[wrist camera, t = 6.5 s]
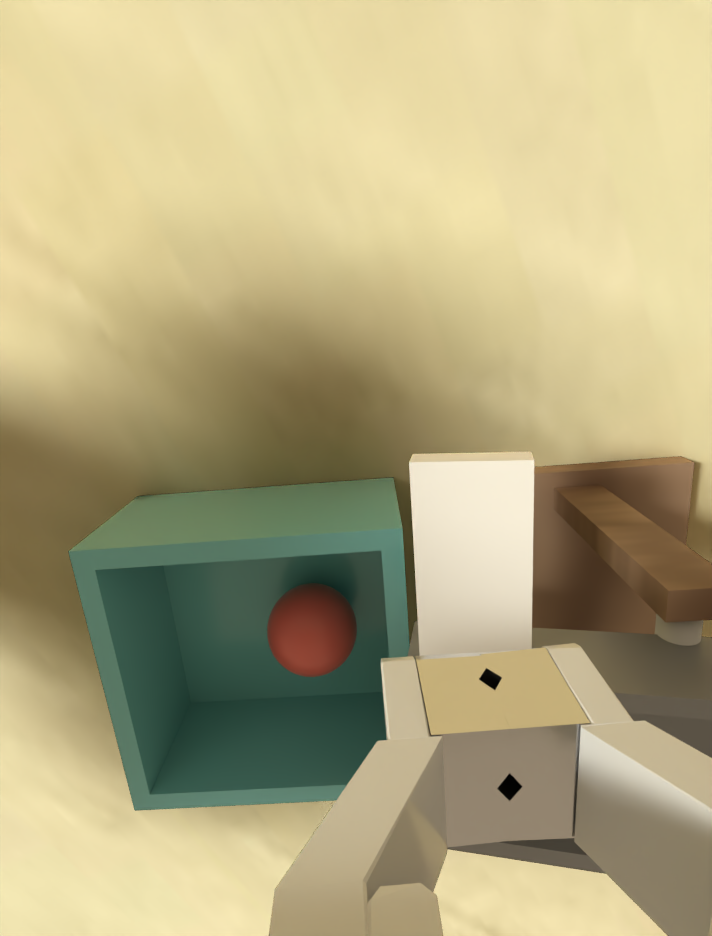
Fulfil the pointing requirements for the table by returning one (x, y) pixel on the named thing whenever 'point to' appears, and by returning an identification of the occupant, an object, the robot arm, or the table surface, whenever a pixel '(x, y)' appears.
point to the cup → (241, 638)
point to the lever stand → (616, 547)
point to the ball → (312, 630)
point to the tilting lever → (510, 610)
